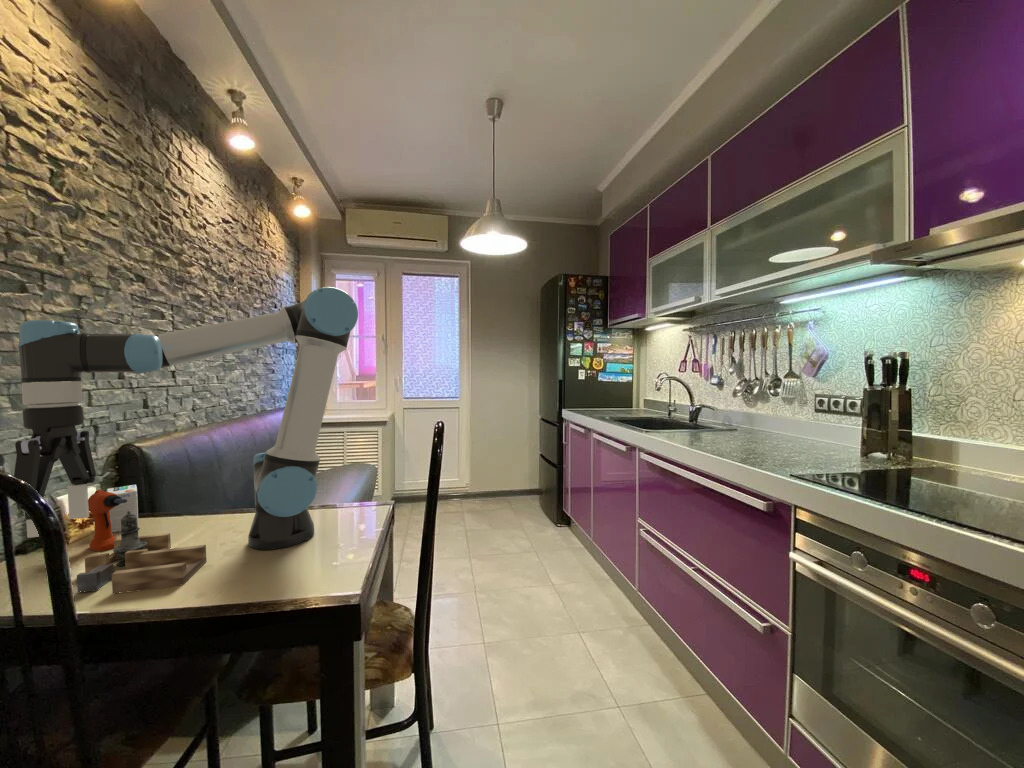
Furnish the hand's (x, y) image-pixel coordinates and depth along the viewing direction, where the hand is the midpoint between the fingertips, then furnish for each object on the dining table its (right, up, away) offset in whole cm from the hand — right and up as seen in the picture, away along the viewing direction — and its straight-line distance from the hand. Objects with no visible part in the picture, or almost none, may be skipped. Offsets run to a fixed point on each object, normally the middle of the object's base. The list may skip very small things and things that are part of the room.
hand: (60, 526), depth 79 cm
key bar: (-2, -15, +9) cm, 18 cm away
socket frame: (-5, -15, +20) cm, 26 cm away
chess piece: (-5, -15, +20) cm, 26 cm away
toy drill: (-16, -15, +27) cm, 35 cm away
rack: (+9, -15, +12) cm, 21 cm away
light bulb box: (-29, -15, +45) cm, 56 cm away
